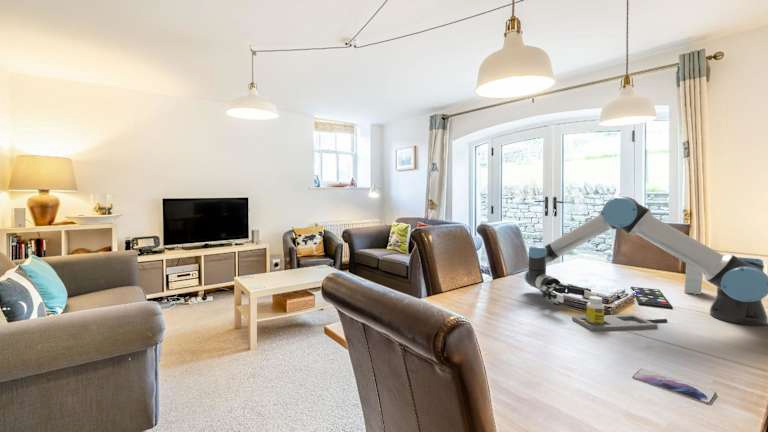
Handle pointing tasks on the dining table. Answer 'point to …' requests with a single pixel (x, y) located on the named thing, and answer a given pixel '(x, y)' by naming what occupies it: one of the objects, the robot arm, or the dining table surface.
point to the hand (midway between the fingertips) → (579, 298)
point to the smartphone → (676, 386)
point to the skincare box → (693, 280)
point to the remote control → (651, 298)
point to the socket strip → (619, 322)
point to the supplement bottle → (595, 311)
